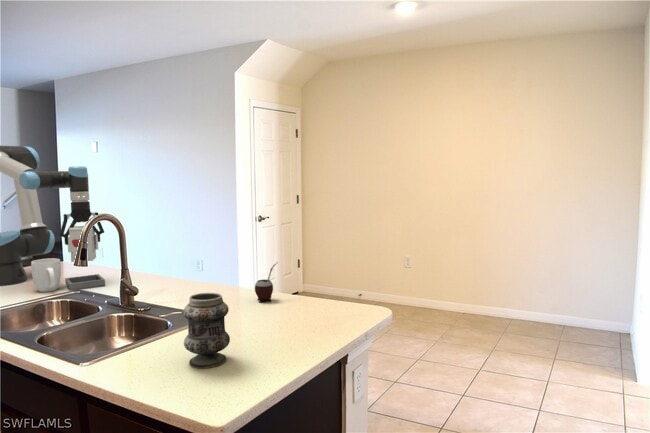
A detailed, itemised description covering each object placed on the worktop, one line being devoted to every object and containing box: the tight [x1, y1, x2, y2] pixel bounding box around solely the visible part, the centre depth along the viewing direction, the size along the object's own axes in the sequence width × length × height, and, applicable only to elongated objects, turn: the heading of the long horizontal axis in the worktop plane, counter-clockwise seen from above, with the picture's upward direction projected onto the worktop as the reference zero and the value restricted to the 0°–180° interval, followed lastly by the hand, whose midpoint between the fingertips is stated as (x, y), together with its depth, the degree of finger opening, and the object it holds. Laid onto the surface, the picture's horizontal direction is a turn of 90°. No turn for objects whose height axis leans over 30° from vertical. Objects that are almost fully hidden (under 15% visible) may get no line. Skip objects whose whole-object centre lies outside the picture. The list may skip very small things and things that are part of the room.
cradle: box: [64, 273, 106, 292], centre depth 218 cm, size 14×14×3 cm
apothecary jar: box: [182, 292, 231, 369], centre depth 130 cm, size 12×12×18 cm
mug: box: [30, 257, 62, 293], centre depth 208 cm, size 15×11×13 cm
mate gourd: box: [254, 261, 278, 304], centre depth 189 cm, size 8×8×15 cm
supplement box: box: [68, 225, 97, 263], centre depth 216 cm, size 9×9×15 cm
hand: (83, 250), depth 217 cm, fingers closed on supplement box, 10 cm apart
